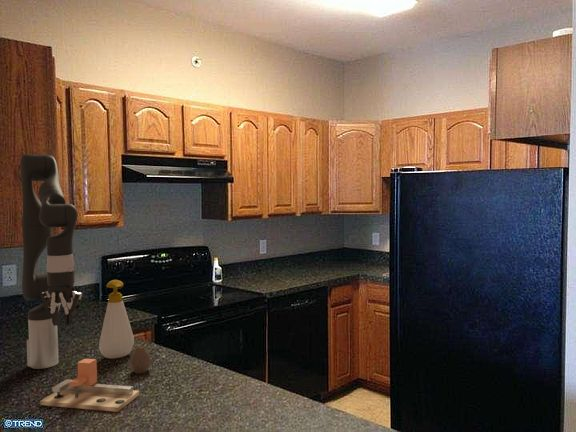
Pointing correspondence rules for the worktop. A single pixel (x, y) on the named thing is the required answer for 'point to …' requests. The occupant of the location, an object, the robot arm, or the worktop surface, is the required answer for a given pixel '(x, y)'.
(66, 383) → the rail
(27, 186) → the robot arm
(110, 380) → the worktop surface
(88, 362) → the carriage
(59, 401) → the hole board
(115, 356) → the soap bottle
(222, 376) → the worktop surface
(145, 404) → the worktop surface
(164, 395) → the worktop surface
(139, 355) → the vase
